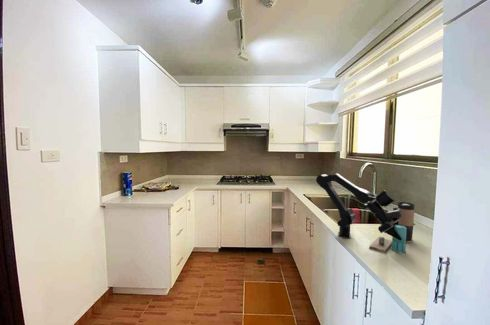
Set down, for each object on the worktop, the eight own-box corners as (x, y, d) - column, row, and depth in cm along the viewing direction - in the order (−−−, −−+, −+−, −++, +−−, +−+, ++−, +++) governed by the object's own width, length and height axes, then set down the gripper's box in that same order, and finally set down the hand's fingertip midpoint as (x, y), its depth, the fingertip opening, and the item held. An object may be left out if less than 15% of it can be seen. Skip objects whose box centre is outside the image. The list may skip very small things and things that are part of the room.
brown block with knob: (369, 248, 117) (369, 239, 117) (378, 239, 129) (378, 231, 129) (385, 252, 113) (385, 244, 112) (392, 242, 124) (393, 235, 124)
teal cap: (390, 246, 119) (391, 224, 118) (403, 248, 117) (404, 225, 116) (393, 251, 114) (394, 227, 113) (406, 253, 112) (407, 229, 111)
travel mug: (409, 236, 132) (411, 202, 131) (414, 242, 125) (417, 206, 123) (393, 235, 134) (395, 201, 133) (398, 240, 127) (400, 205, 126)
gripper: (387, 206, 110) (414, 235, 103) (395, 199, 123) (420, 225, 116) (368, 218, 116) (392, 247, 109) (378, 211, 129) (400, 235, 122)
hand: (402, 238), depth 114 cm, fingers closed on teal cap, 6 cm apart
